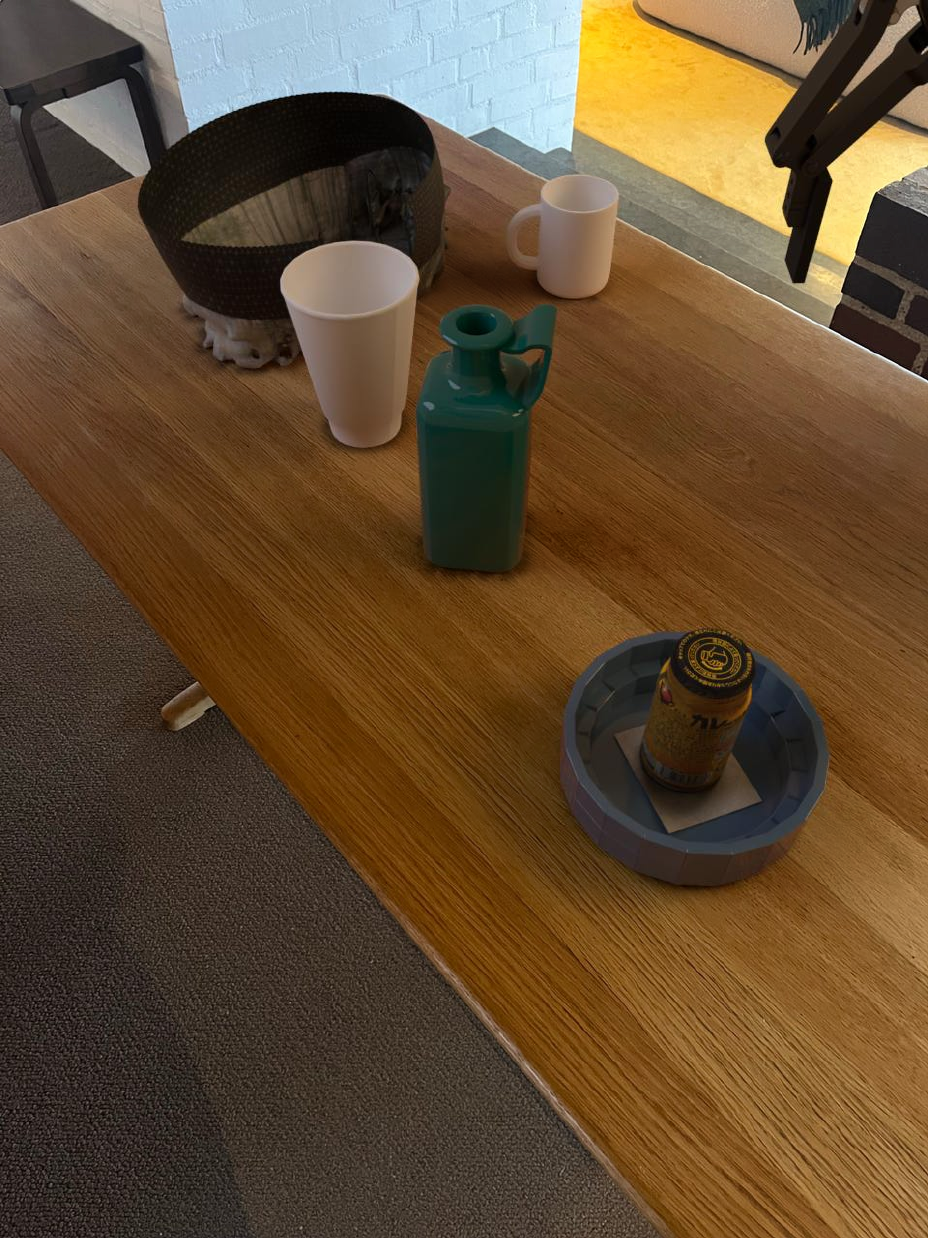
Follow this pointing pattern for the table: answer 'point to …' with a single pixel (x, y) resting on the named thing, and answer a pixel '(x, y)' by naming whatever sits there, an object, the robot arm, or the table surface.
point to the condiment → (695, 731)
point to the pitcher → (480, 435)
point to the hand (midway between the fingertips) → (903, 270)
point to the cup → (355, 333)
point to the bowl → (764, 748)
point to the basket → (289, 207)
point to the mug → (570, 235)
